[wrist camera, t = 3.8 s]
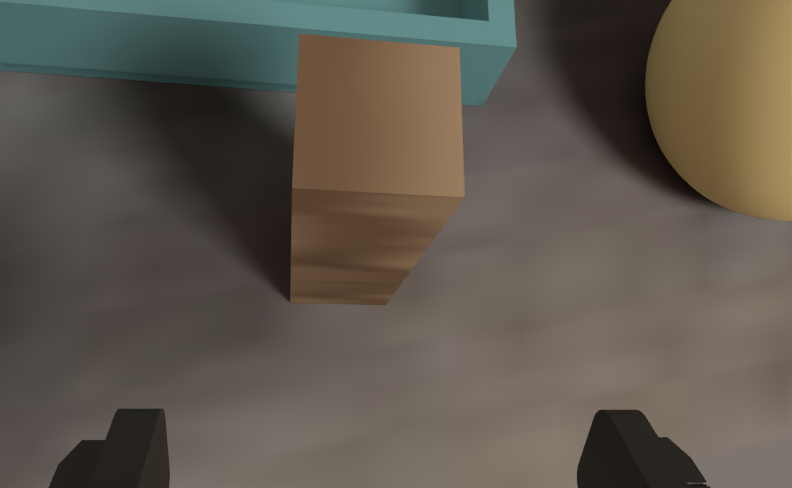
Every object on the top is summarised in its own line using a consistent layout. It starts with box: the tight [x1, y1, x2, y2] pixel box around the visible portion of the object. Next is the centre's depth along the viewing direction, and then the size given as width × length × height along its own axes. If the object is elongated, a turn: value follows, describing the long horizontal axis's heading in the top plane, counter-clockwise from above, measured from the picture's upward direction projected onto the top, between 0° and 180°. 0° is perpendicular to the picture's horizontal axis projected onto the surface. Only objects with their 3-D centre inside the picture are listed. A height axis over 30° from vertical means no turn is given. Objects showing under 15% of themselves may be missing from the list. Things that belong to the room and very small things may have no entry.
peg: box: [290, 34, 465, 305], centre depth 20 cm, size 4×4×12 cm
